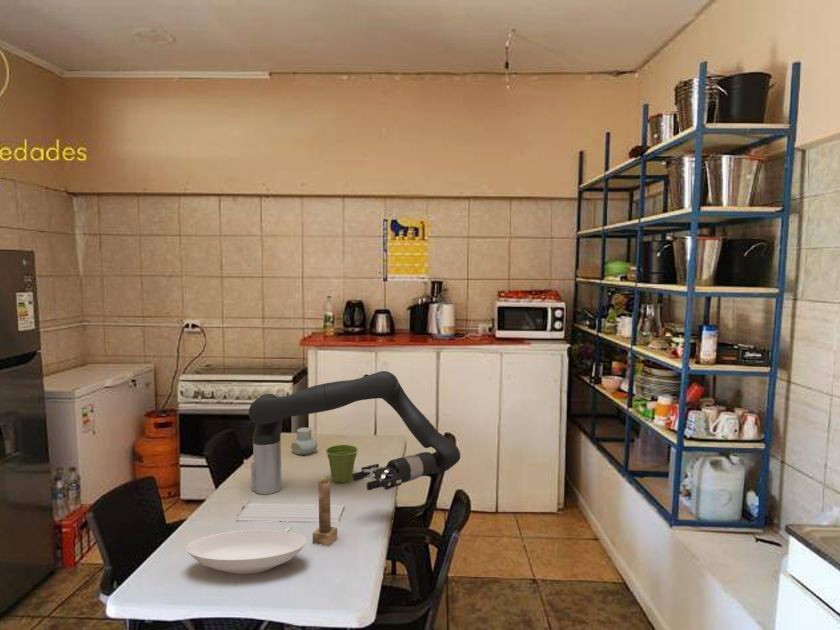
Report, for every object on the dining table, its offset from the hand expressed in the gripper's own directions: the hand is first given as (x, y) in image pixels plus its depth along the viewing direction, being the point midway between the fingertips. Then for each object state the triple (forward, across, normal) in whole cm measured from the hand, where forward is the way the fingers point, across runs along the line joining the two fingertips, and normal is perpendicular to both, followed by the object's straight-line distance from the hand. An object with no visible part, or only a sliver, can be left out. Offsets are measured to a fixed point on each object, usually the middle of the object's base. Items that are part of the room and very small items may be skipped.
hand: (359, 482), depth 156 cm
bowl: (+34, 0, +14) cm, 36 cm away
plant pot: (-14, -37, +14) cm, 42 cm away
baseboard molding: (+13, -21, +15) cm, 29 cm away
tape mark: (+19, -12, +14) cm, 26 cm away
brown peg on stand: (+12, 0, +14) cm, 18 cm away
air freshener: (-15, -72, +14) cm, 75 cm away
